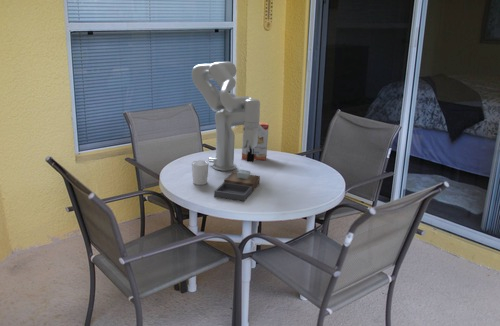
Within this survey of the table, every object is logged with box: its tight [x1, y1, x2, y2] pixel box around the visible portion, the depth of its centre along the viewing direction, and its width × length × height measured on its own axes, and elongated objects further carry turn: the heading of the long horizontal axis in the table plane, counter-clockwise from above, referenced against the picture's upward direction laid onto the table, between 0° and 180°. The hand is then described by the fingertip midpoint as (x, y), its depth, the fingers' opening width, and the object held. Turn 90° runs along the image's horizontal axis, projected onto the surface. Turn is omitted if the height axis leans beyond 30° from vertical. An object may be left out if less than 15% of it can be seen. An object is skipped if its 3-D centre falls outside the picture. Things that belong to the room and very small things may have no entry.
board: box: [223, 171, 261, 193], centre depth 235 cm, size 14×12×4 cm
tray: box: [213, 181, 253, 203], centre depth 223 cm, size 14×12×3 cm
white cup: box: [191, 160, 210, 186], centre depth 236 cm, size 8×8×10 cm
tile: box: [236, 169, 251, 179], centre depth 236 cm, size 5×5×2 cm
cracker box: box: [241, 121, 270, 161], centre depth 276 cm, size 14×6×21 cm, turn 90°
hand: (250, 161), depth 243 cm, fingers closed
